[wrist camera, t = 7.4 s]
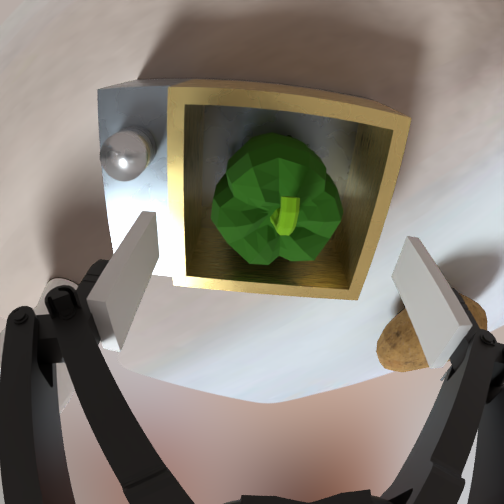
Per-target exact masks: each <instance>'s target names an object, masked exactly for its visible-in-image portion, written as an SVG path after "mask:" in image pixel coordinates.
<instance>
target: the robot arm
mask: <svg viewBox="0 0 504 504" xmlns="http://www.w3.org/2000/svg"><path fill="white" fill-rule="evenodd" d="M159 258H160V253H159V242H158V229H157V215H156V212H154V211H142V212H141V213H140V215H139V216H138V217H137V219H136V220H135V222H134V223H133V225H132V226H131V228H130V229H129V231H128V232H127V234H126V235H125V237H124V238H123V240H122V242H121V243H120V245H119V246H118V248H117V249H116V251H115V252H114V254H113V256H112V257H111V259H110V260H101V259H100V260H99V261H97V262H96V263H95V264H93V265H92V266H91V267H90V269H89V270H88V272H87V273H86V275H85V277H84V278H83V281H81V283H80V284H79V286H78V288H77V289H76V290H75V289H74V287H72V286H69V285H61V286H57V287H55V288H53V289H51V290H50V291H49V292H48V293H47V295H46V297H45V305H46V307H47V310H48V312H49V314H44V315H36V314H35V312H34V310H33V309H32V308H31V307H28V306H21V307H19V308H16V309H15V310H13V311H12V312H11V313H10V315H9V316H8V319H7V324H6V330H5V336H4V344H3V352H2V361H1V372H0V467H1V477H2V486H3V494H4V500H5V504H75V500H74V496H73V492H72V487H71V483H70V478H69V473H68V468H67V462H66V456H65V451H64V444H63V437H62V430H61V422H60V412H59V402H58V389H57V370H56V363H65V364H66V367H67V370H68V372H69V375H70V378H71V381H72V383H73V386H74V388H75V391H76V393H77V396H78V398H79V401H80V403H81V406H82V408H83V410H84V413H85V415H86V417H87V419H88V422H89V424H90V426H91V428H92V430H93V433H94V434H95V437H96V439H97V441H98V443H99V445H100V447H101V449H102V451H103V453H104V455H105V456H106V458H107V460H108V462H109V464H110V465H111V468H112V469H113V471H114V473H115V475H116V477H117V478H118V480H119V482H120V483H121V486H122V488H123V492H124V494H125V496H126V498H127V500H128V502H129V503H130V504H194V502H193V501H192V500H191V499H190V497H189V496H188V495H187V493H186V492H185V491H184V489H183V488H182V487H181V485H180V484H179V482H178V481H177V480H176V478H175V477H174V476H173V474H172V473H171V472H170V470H169V469H168V468H167V467H166V465H165V464H164V463H163V461H162V460H161V458H160V457H159V455H158V454H157V452H156V451H155V449H154V448H153V446H152V444H151V443H150V441H149V440H148V438H147V436H146V435H145V433H144V432H143V430H142V428H141V427H140V425H139V423H138V422H137V420H136V418H135V416H134V415H133V413H132V412H131V409H130V408H129V406H128V404H127V402H126V400H125V399H124V397H123V395H122V393H121V391H120V389H119V388H118V386H117V384H116V382H115V380H114V378H113V376H112V374H111V372H110V370H109V368H108V366H107V364H106V362H105V359H104V357H103V355H102V353H101V351H100V349H99V347H98V344H99V342H100V340H101V343H102V346H103V348H104V349H107V350H113V351H118V352H121V350H122V347H123V344H124V342H125V339H126V336H127V334H128V331H129V329H130V326H131V324H132V321H133V319H134V316H135V314H136V311H137V309H138V306H139V304H140V302H141V299H142V297H143V294H144V292H145V290H146V287H147V285H148V283H149V280H150V278H151V276H152V273H153V271H154V269H155V267H156V264H157V262H158V260H159ZM391 277H392V279H393V281H394V283H395V285H396V288H397V290H398V292H399V294H400V296H401V299H402V301H403V303H404V305H405V308H406V310H407V312H408V315H409V317H410V319H411V322H412V324H413V327H414V329H415V331H416V334H417V336H418V339H419V341H420V344H421V346H422V349H423V352H424V354H425V357H426V359H427V362H428V365H429V367H430V368H431V369H432V368H442V367H443V366H444V365H445V364H446V363H447V361H448V360H449V359H450V361H451V364H452V365H451V367H450V368H449V369H448V371H447V372H446V373H445V374H444V376H443V377H442V378H441V381H442V380H443V379H444V378H445V379H444V382H443V384H442V387H441V389H440V392H439V394H438V397H437V399H436V401H435V403H434V406H433V408H432V410H431V412H430V415H429V417H428V419H427V421H426V423H425V425H424V427H423V430H422V431H421V433H420V435H419V437H418V439H417V441H416V443H415V445H414V447H413V449H412V451H411V452H410V454H409V456H408V458H407V460H406V462H405V463H404V465H403V467H402V469H401V470H400V472H399V474H398V476H397V477H396V479H395V480H394V482H393V483H392V485H391V486H390V487H389V488H388V489H387V490H386V491H385V492H384V493H383V494H382V496H381V497H377V496H372V495H371V492H370V490H362V491H354V492H346V493H340V494H337V495H334V496H331V497H328V498H324V499H321V500H318V501H315V502H311V503H306V502H300V501H295V500H291V499H286V498H281V497H277V496H251V495H242V496H241V499H240V500H236V501H231V502H227V503H224V504H457V502H458V500H459V498H460V496H461V493H462V491H463V489H464V485H465V479H463V478H461V475H462V472H463V469H464V466H465V464H466V461H467V459H468V456H469V453H470V451H471V447H472V445H473V442H474V439H475V436H476V433H477V430H478V437H477V447H476V456H475V463H474V470H473V477H472V483H471V488H470V493H469V499H468V503H467V504H504V344H500V343H497V341H496V339H495V337H494V336H493V335H492V334H491V333H490V332H489V331H487V330H485V329H480V327H479V326H478V324H477V322H476V320H475V318H474V317H473V315H472V313H471V311H470V310H469V308H468V306H467V305H466V304H465V301H464V300H463V298H462V296H461V295H460V294H459V293H458V292H457V291H456V290H455V289H454V288H451V287H450V285H449V284H448V282H447V280H446V279H445V277H444V276H443V274H442V272H441V271H440V269H439V268H438V266H437V265H436V263H435V262H434V260H433V259H432V257H431V256H430V254H429V253H428V251H427V250H426V248H425V247H424V245H423V244H422V242H421V241H420V239H419V238H417V237H409V236H407V237H406V240H405V243H404V245H403V248H402V251H401V254H400V256H399V259H398V261H397V264H396V266H395V269H394V272H393V274H392V276H391Z"/></svg>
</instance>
